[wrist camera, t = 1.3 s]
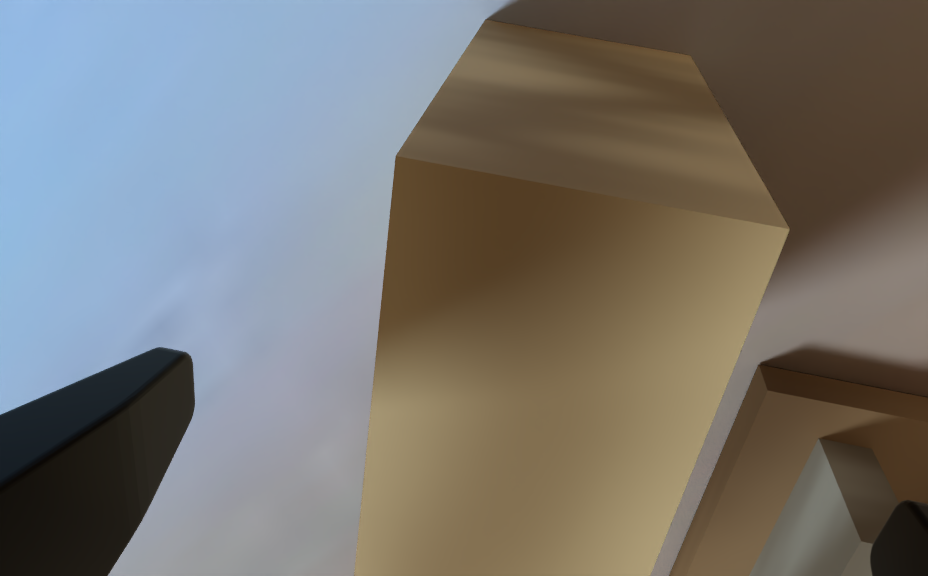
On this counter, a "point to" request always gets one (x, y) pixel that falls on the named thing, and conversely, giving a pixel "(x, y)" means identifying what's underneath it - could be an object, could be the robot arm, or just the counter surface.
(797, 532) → the slot board
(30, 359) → the counter surface
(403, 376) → the oak rail end
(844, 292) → the counter surface
